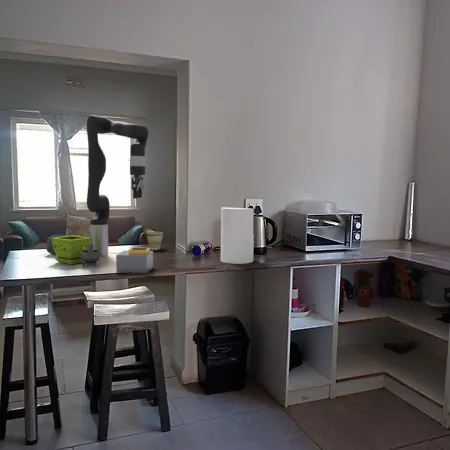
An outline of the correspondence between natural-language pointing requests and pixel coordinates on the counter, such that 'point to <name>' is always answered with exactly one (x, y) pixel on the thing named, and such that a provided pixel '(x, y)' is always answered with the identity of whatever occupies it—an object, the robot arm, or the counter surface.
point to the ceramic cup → (154, 240)
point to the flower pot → (70, 248)
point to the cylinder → (237, 235)
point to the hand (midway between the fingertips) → (137, 198)
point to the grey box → (134, 260)
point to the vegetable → (50, 244)
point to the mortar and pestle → (90, 255)
